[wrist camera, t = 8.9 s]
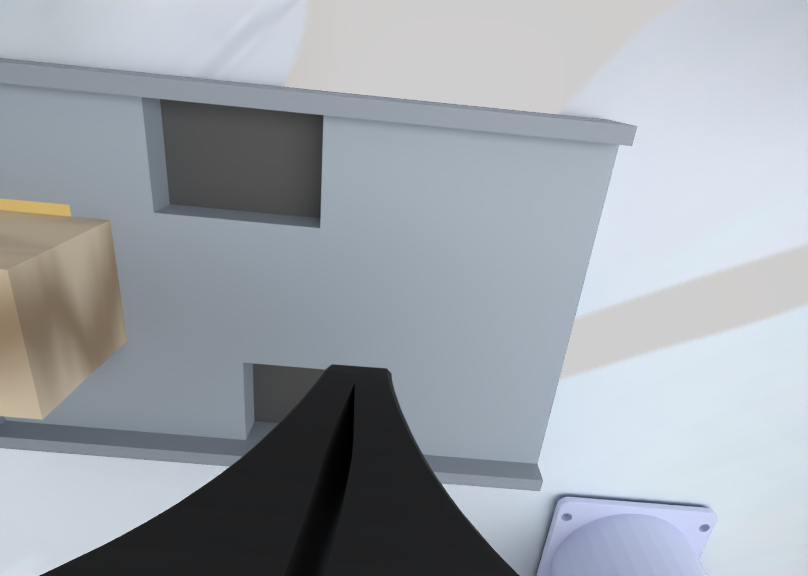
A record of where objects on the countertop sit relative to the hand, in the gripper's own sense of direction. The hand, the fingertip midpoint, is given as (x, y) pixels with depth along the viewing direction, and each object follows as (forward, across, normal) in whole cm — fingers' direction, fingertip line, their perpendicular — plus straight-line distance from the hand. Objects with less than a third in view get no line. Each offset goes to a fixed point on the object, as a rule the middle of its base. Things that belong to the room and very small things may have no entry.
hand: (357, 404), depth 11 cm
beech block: (+8, +12, +1) cm, 15 cm away
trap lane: (+10, +4, +2) cm, 11 cm away
